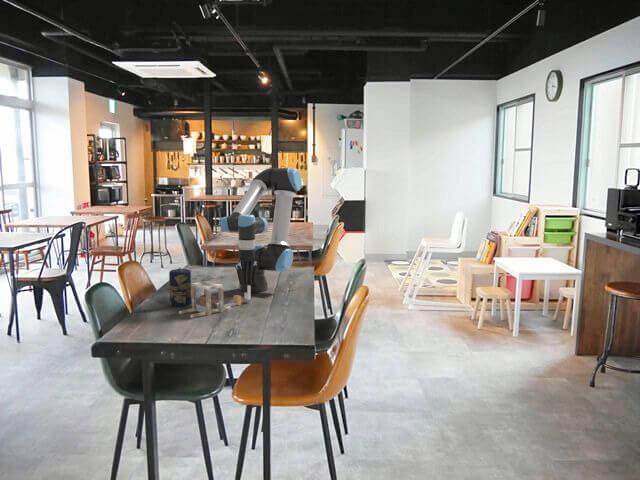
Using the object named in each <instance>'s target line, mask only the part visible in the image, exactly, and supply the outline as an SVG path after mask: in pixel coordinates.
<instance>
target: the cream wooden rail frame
mask: <svg viewBox="0 0 640 480" xmlns="http://www.w3.org/2000/svg"><path fill="white" fill-rule="evenodd" d="M197 288H198V289H203V295H206V312H197V311H196V305H197V304H198V303H197V301H198V300H197ZM213 289H217V291H218V293H217V294H218V295H217V296H218V302H215V304H219V309H215V310H211V295H212V290H213ZM224 301H225V300H224V284H221V283H217V282H214V281H208V280H204V281H198V282H191V308H188V309H183V310H182V309H181V310H179V311H178V315H182V314H187V313H192V312H195V313H193V314H189V316H190V318H191V319H192V318H197V317H202V316H211V315H212V314H215V313H216V314H217V313H224V312H225V311H229V310H232V306H229V307H224V305H225V303H224ZM196 312H197V313H196Z"/></svg>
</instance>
